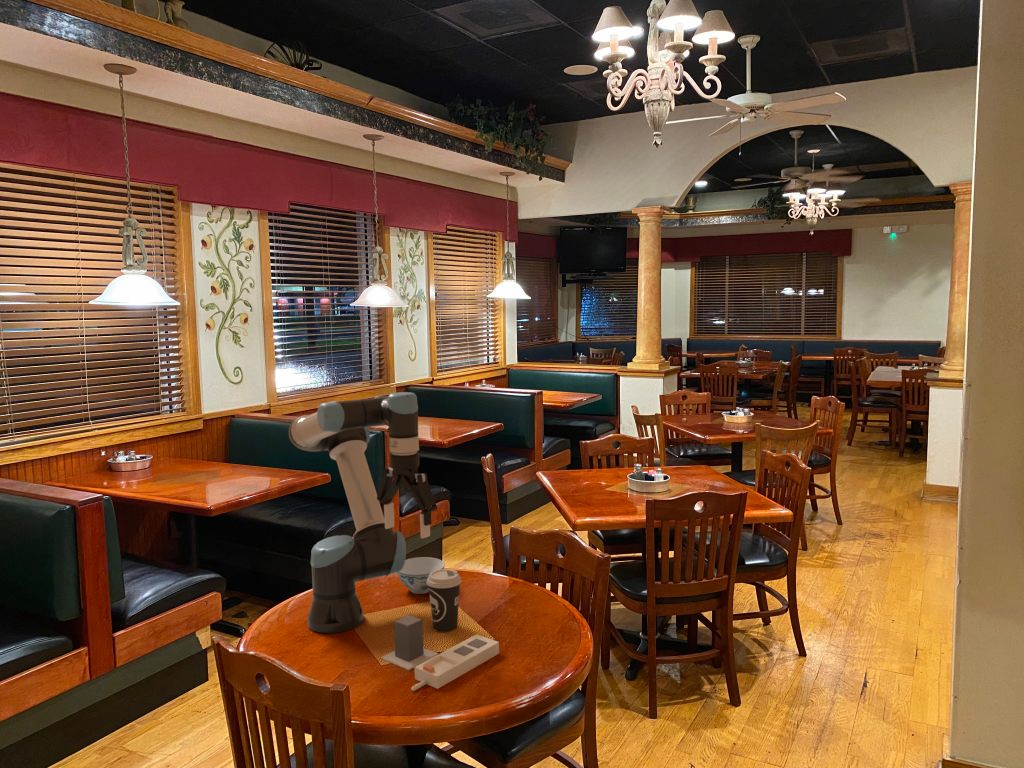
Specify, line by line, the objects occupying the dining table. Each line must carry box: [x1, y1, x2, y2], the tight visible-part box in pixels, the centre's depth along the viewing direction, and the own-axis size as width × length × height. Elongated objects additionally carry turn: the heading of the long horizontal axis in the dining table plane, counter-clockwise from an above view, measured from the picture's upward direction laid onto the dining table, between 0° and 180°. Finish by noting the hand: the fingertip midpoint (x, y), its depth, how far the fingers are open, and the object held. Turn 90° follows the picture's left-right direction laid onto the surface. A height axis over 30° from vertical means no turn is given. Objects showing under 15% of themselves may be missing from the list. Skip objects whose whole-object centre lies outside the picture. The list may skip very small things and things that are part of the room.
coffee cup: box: [426, 568, 463, 633], centre depth 208 cm, size 10×10×15 cm
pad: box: [380, 647, 439, 671], centre depth 192 cm, size 10×10×1 cm
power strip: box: [411, 634, 500, 692], centre depth 184 cm, size 26×8×4 cm, turn 141°
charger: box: [393, 614, 424, 662], centre depth 191 cm, size 5×5×9 cm
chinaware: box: [396, 556, 445, 595], centre depth 235 cm, size 15×15×8 cm
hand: (407, 532), depth 199 cm, fingers open, 13 cm apart
